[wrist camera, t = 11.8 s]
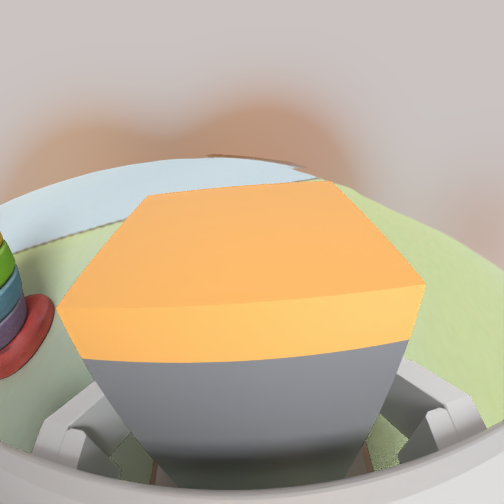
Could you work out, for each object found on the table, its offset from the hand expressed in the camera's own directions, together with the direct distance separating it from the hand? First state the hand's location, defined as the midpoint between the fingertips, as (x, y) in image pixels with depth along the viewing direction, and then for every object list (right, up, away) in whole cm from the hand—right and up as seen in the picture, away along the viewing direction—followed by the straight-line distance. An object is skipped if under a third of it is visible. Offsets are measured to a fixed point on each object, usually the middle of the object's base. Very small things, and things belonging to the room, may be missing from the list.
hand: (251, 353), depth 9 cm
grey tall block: (+1, -6, +2) cm, 7 cm away
